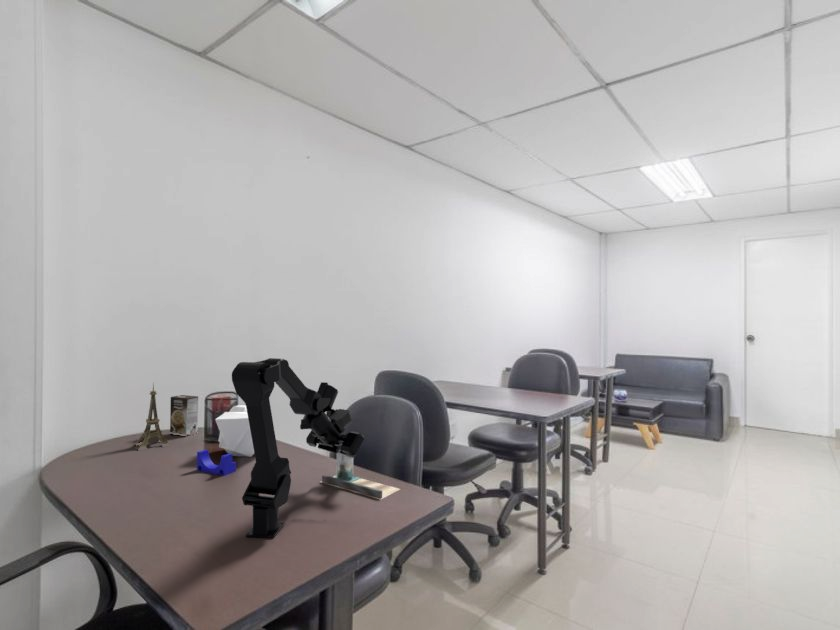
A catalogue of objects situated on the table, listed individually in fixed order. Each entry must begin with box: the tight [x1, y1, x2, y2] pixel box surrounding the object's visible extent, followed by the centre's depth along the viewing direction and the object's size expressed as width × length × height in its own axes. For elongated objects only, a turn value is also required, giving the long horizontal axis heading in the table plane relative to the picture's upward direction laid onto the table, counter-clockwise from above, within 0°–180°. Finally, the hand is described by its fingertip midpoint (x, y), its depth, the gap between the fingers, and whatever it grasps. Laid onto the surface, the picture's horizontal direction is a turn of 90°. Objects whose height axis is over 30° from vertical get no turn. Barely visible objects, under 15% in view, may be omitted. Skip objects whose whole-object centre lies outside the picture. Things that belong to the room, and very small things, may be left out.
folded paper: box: [215, 404, 255, 458], centre depth 161 cm, size 17×24×17 cm
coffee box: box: [169, 394, 199, 434], centre depth 188 cm, size 9×6×16 cm
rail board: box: [320, 474, 401, 501], centre depth 127 cm, size 23×9×3 cm, turn 56°
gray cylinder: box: [335, 443, 355, 478], centre depth 133 cm, size 5×5×11 cm
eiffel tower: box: [136, 383, 169, 448], centre depth 171 cm, size 11×11×25 cm
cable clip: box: [196, 449, 237, 476], centre depth 142 cm, size 12×4×6 cm, turn 66°
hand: (348, 454), depth 134 cm, fingers closed on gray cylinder, 5 cm apart
